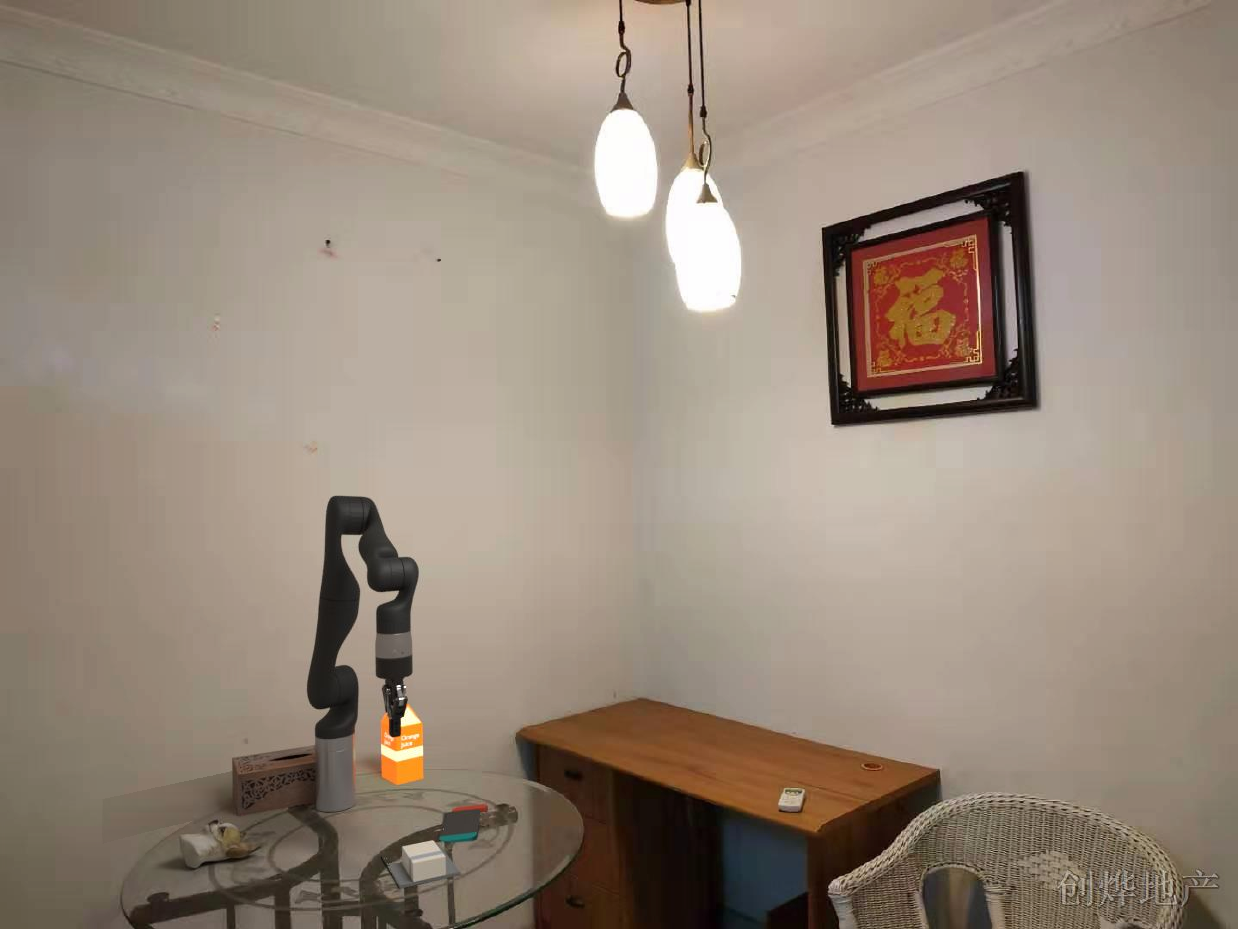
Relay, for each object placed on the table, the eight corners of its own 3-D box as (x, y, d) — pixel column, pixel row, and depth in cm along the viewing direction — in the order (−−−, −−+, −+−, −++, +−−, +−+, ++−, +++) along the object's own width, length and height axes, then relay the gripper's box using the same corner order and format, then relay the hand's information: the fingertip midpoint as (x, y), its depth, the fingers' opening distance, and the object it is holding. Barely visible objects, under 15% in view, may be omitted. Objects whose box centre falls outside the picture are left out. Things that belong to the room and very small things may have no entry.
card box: (402, 846, 182) (413, 863, 174) (433, 840, 184) (445, 856, 176) (402, 864, 182) (413, 882, 173) (433, 858, 184) (445, 875, 176)
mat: (381, 857, 186) (381, 854, 186) (437, 845, 192) (437, 842, 192) (399, 888, 172) (399, 885, 172) (460, 874, 178) (460, 871, 178)
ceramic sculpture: (172, 819, 186) (246, 805, 196) (170, 861, 186) (244, 845, 195) (187, 835, 178) (263, 819, 188) (184, 879, 178) (261, 861, 187)
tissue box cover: (339, 779, 235) (338, 741, 235) (350, 797, 223) (350, 756, 223) (232, 798, 223) (232, 758, 223) (238, 817, 210) (238, 774, 210)
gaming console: (438, 846, 193) (485, 841, 194) (438, 841, 193) (485, 836, 194) (445, 812, 212) (488, 807, 214) (445, 808, 212) (487, 803, 214)
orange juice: (408, 770, 241) (407, 695, 241) (423, 778, 235) (422, 701, 235) (380, 776, 236) (379, 700, 236) (396, 785, 230) (395, 707, 230)
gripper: (420, 656, 183) (421, 741, 183) (404, 646, 195) (405, 725, 195) (383, 660, 180) (384, 747, 179) (369, 649, 191) (370, 731, 191)
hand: (395, 736), depth 187 cm, fingers closed
